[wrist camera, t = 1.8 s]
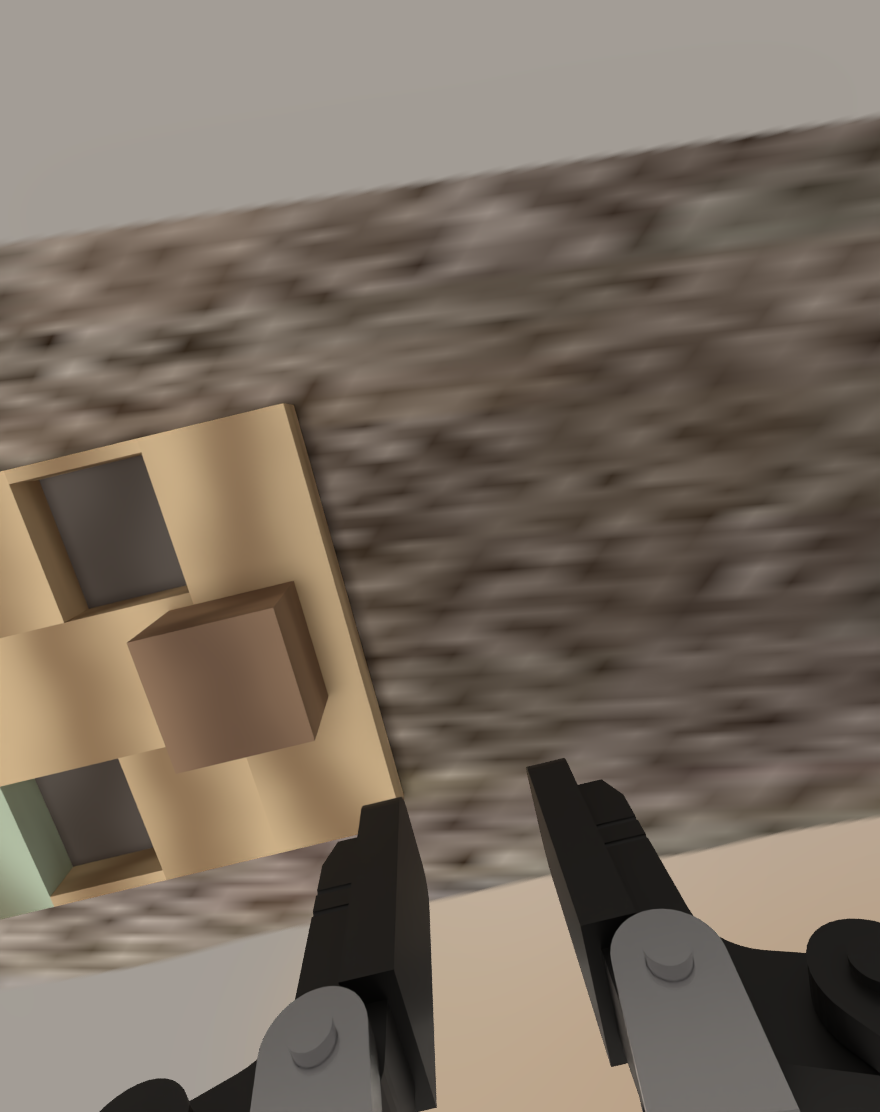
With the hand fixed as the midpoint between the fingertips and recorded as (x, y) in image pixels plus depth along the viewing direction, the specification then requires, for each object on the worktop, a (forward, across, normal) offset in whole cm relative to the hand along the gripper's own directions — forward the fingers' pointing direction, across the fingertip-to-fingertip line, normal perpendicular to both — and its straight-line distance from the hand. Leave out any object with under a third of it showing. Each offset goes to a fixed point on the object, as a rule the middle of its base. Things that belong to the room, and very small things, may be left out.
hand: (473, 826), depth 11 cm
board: (+15, +14, 0) cm, 21 cm away
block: (+13, +8, 0) cm, 15 cm away
